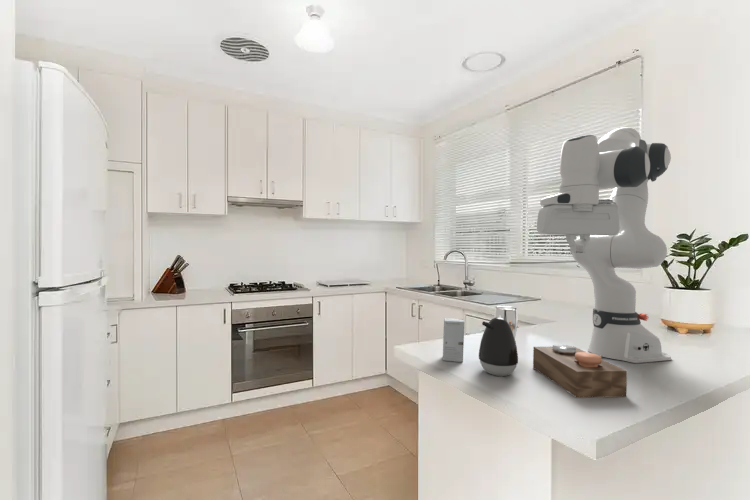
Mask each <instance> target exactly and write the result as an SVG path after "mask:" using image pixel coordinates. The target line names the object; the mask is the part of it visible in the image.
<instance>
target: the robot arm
mask: <svg viewBox="0 0 750 500" xmlns="http://www.w3.org/2000/svg"><path fill="white" fill-rule="evenodd" d="M671 159H672V157H671V152H670V150H669V147H668V146H667V145H666V144H665V143H662V142H652V143H649V144H648V143H647V142H646V140H644V139H642V137H641V134H640V133H639V131H637V130H636V129H634V128H632V127H620V128H619V127H618V128H616V129H613V130H611V131H610V132H608V133H607V134H605V135H603V136H602V137H601V138H600V139H599V140H598V137H597V136H596V135H595V134H586V135H585V134H584V135H579V136H574V137H570V138H568V139H566V140H565V141H563V143H562V147H561V152H560V159H559V160H560V163H559V173H560V178H561V179H560V180H561V181H560V184H559V192H557V193H554V194H552V195H548V196H546V197H543V198H541V199H540V206H541V208H540V209H539V210H538V213H537V221H536V230H537V233H538V234H539V235H551V236H552V235H553V236H555V235H556V236H562V235H563V236H565V240H566V242H567V244H568V245H569V246H570V247H569V249H570V250H569V252H570V253H571V256H572V258H573V260H574V262H576V263H577V264H578V265H580V266H581V267H583V269H584V270H585V271H586V272H587V274H588V275H589V277H590V279H591V282H592V285H593V294H594V296H593V297H594V308H593V309H592V324H593V327H592V335H591V338H590V343H589V345H588V348H587V351H588V353H593V354H597V355H599V356H601V357H602V358H608V359H611V360H612V359H613V360H620V361H623V362H624V361H625V362H627V363H628V362H629V363H631V364H641V363H652V362H653V363H654V362H661V361H662V362H663V361H671V360H672V357H671V355H670V354H669V353H665V352H664V351H663V350H662V343H661V340H660V338H659V337H658V336H657V335H656V334H655V333H653V332H652V331H650V330H649V329H648V328H646V327H645V326H644V325H643V324H641V320H642V321H646V322H647V321H648V320H649V315H647V314H646V313H638V312H637V311H636V305H637V303H636V301H637V298H636V296H637V295H636V294H637V290H636V288H635V286H634V285H633V284H632V283H631V282H629V281H628V280H626V279H624V278H622V277H620V276H618V275H617V273H616V270H615V268H616V269H637V270H639V269H640V270H641V269H649V268H650V269H651V268H657V267H659V266H660V265H662V263H663V262H664V261H665V260H666V258H667V254H668V248H667V245H666V243H665V241H664V240H663V239H662V238H661V237H660V236H659V235H657V234H654V233H653V232H652V231H650V230H649V229H648V228H647V226H646V224H645V222H646V219H645V218H646V214H647V207H648V202H649V188H648V182H649V181H651V182H652V183H653V182H655V181H656V180H657V178H659V177H661V176H662V175H664V173H665V172H666V171H667V170H668V168H669V165H670V162H671V161H672V160H671ZM607 189H613V190H612V193H611V194H610V197H609V199H601V198H599V197H600V192H599V191H600V190H607ZM577 236H578V237H577Z"/></svg>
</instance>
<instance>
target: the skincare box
mask: <svg viewBox="0 0 750 500" xmlns="http://www.w3.org/2000/svg"><path fill="white" fill-rule="evenodd" d="M464 339H465V320H464V319H462V318H449V317H444V318H443V338H442V361H448V362H458V363H459V362H461V363H462V362H464V346H465V345H464V342H465V340H464Z"/></svg>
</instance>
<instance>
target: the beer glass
mask: <svg viewBox="0 0 750 500" xmlns="http://www.w3.org/2000/svg"><path fill="white" fill-rule="evenodd" d="M496 317H500V318H503V319H505V320H506V321H507V322H508V323H509V325H510V327H511V329H512V332H513V335H514V338H515V339H516V336H517V331H518V323H519V322H518V321H519V320H518V308H517V307H514V306H509V305H508V306H507V305H506V306H505V305H503V306H501V305H498V306H495V308H494V316H493V318H496Z"/></svg>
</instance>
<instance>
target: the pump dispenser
mask: <svg viewBox="0 0 750 500" xmlns="http://www.w3.org/2000/svg"><path fill="white" fill-rule="evenodd" d="M481 325H482V326H484V327H485V328H484V330H483V333H482V336H481V340H480V343H479V344H480V345H479V349H478V359H479V362H480V365H481V368H482V369H483V370H484V371H485V372H486V373H488V374H490V375H491V376H492V375H493V376H497V377H506V376H509V375H511V374H512V373H514V372H515V370H516V368H517V364H518V363H519V352H518V346H517V343H516V337H515V338H514V335H513V332H512V329H511V327H510V325H509V323H508V322H507V321H506V320H505V319H503V318H500V317H496V318H494V317H492V318H491V319H490V320H489V321H488V322H487V321H483V320H482V322H481Z"/></svg>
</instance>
